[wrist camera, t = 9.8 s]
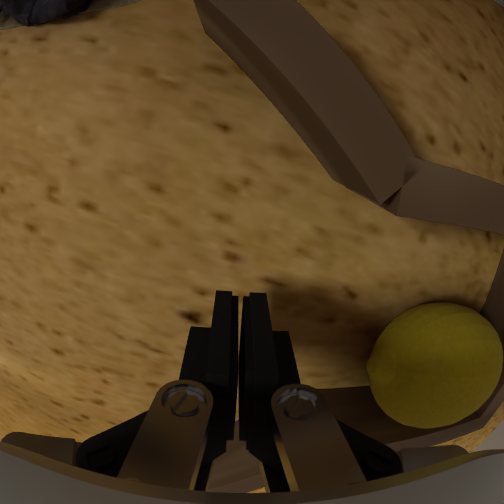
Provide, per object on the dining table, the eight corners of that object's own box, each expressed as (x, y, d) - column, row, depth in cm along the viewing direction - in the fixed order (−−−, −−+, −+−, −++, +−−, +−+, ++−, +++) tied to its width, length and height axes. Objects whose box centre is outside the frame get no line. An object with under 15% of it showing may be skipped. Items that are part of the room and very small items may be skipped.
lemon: (356, 277, 12) (467, 299, 14) (320, 391, 13) (435, 388, 14) (445, 315, 7) (541, 327, 8) (375, 469, 7) (494, 433, 9)
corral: (208, 8, 8) (193, -49, 4) (538, 116, 9) (591, 124, 5) (196, 447, 16) (191, 500, 12) (428, 430, 17) (446, 468, 13)
